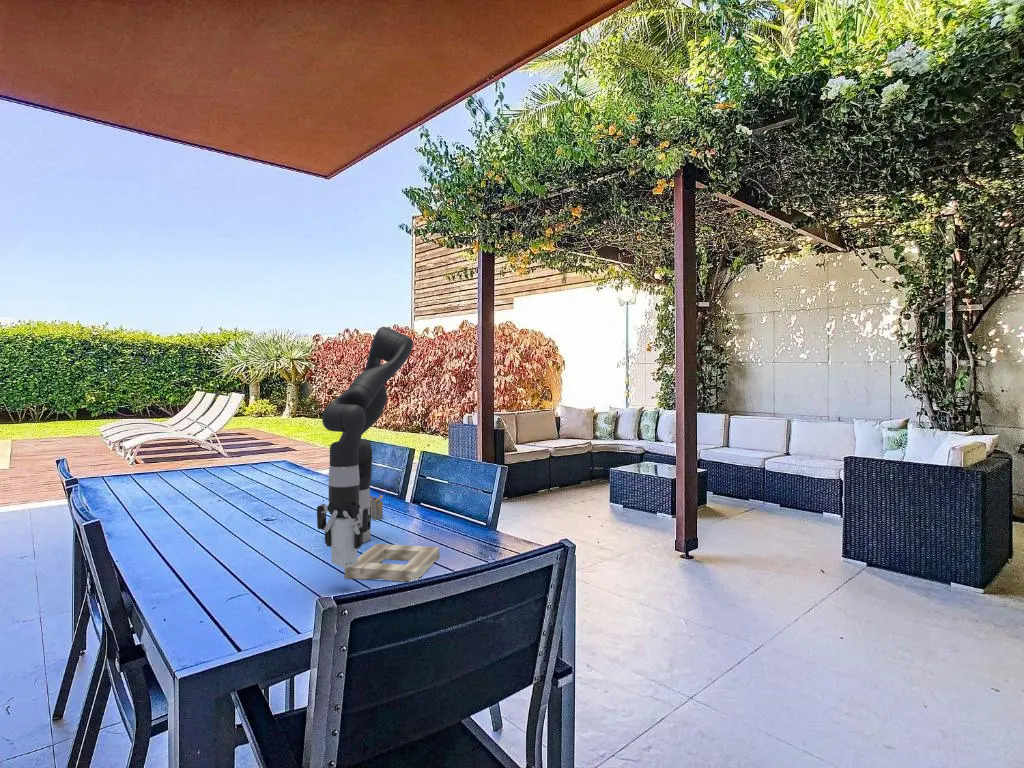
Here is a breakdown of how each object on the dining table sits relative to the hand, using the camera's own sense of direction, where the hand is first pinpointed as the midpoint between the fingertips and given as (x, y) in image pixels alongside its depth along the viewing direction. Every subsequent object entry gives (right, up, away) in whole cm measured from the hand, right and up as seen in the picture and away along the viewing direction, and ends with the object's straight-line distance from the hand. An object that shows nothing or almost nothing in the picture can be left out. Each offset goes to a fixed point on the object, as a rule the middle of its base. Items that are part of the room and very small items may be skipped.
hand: (343, 546), depth 147 cm
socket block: (+9, -11, +17) cm, 22 cm away
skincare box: (0, -5, 0) cm, 5 cm away
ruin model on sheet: (-9, -10, +72) cm, 73 cm away
